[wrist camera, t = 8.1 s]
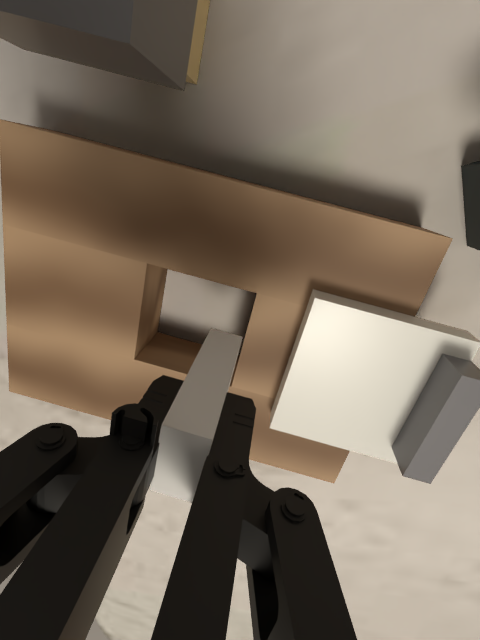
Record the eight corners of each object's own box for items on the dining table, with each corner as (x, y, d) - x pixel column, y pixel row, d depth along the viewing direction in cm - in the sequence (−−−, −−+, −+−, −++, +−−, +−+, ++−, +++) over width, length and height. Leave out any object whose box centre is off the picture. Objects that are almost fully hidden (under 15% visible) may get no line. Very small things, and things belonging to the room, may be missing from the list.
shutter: (312, 289, 17) (318, 313, 14) (467, 330, 17) (507, 364, 14) (270, 412, 21) (267, 454, 18) (400, 449, 20) (421, 497, 17)
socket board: (51, 130, 20) (-2, 119, 16) (421, 227, 20) (452, 238, 16) (48, 361, 26) (9, 391, 23) (327, 440, 26) (334, 483, 22)
